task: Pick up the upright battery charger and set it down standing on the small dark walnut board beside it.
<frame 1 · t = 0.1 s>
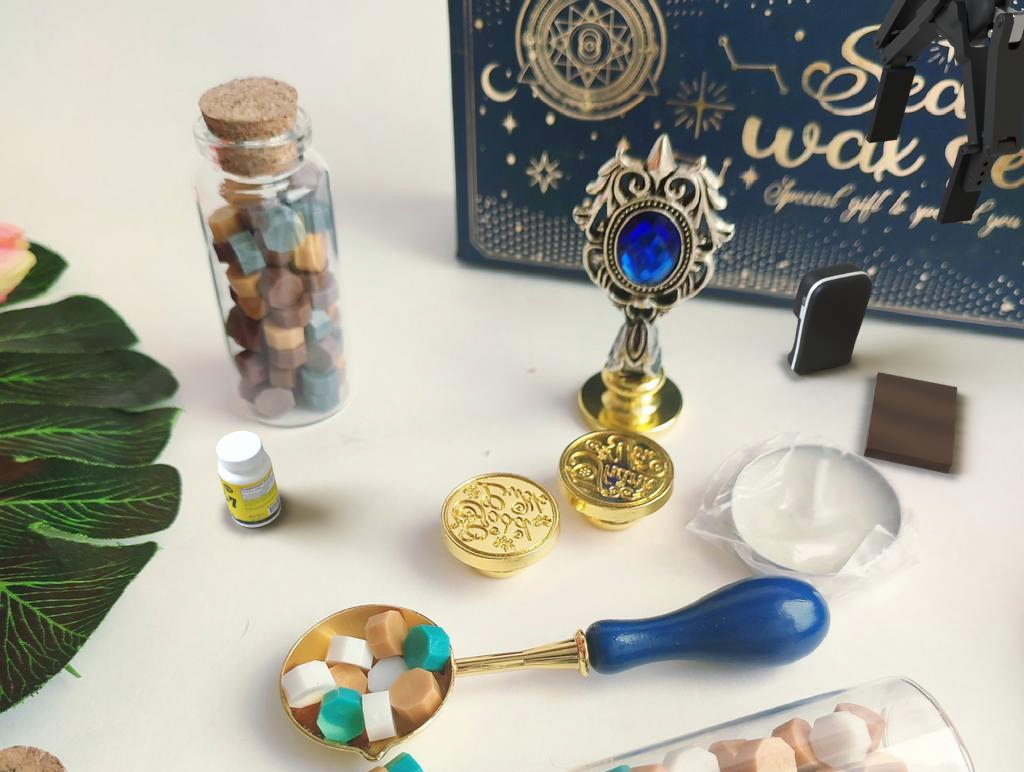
hand: (915, 178, 93), 25 cm above the table, tool pointing down, fingers open, 13 cm apart
supplement bottle: (256, 511, 101), on the table
walnut board: (910, 425, 108), on the table
battery charger: (814, 361, 116), on the table
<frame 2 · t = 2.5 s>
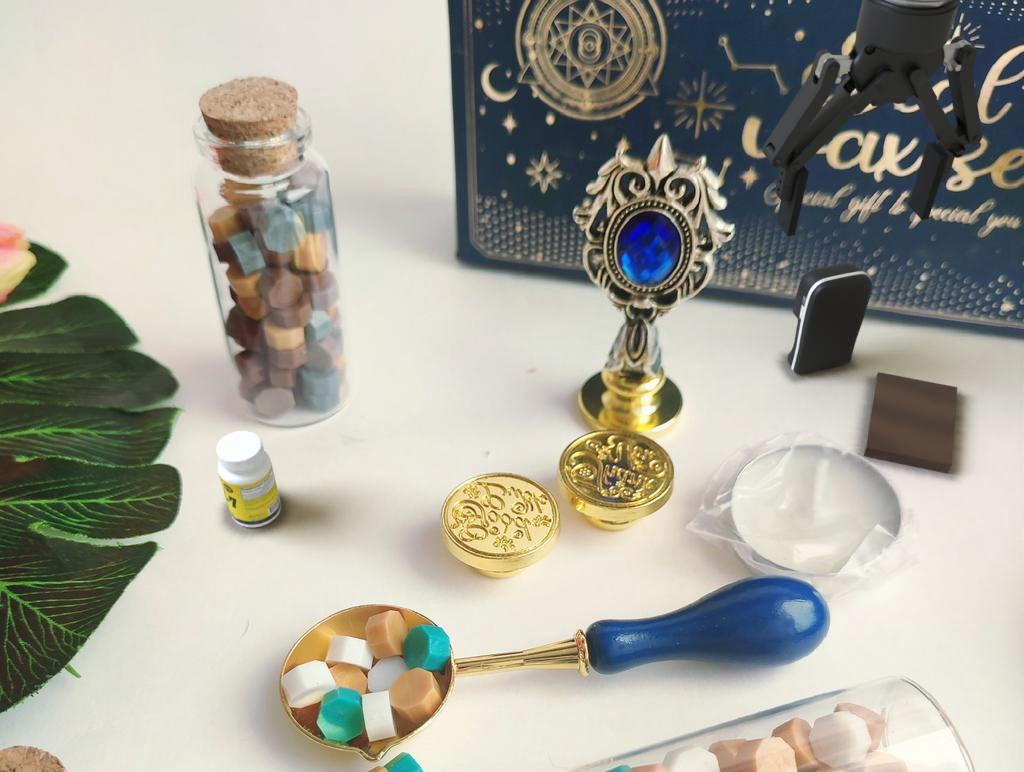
hand: (852, 220, 103), 17 cm above the table, tool pointing down, fingers open, 13 cm apart
nothing on the table moved.
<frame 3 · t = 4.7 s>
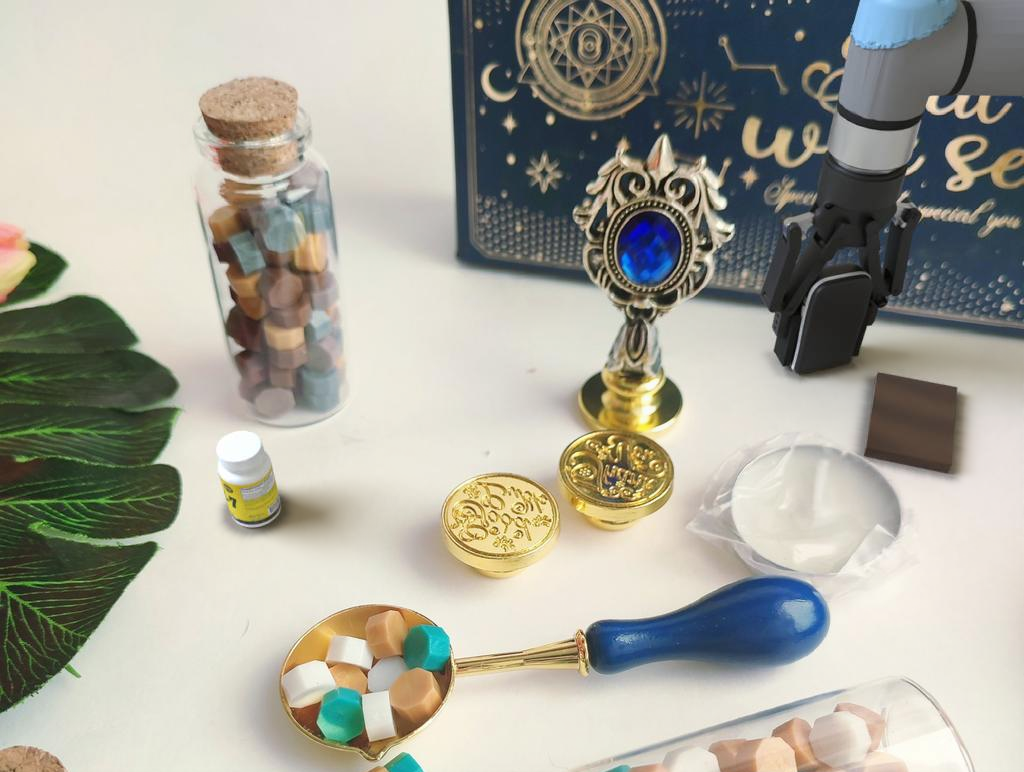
hand: (815, 353, 115), 1 cm above the table, tool pointing down, fingers closed on battery charger, 7 cm apart
battery charger: (814, 361, 116), on the table, touching gripper
everything else where it was.
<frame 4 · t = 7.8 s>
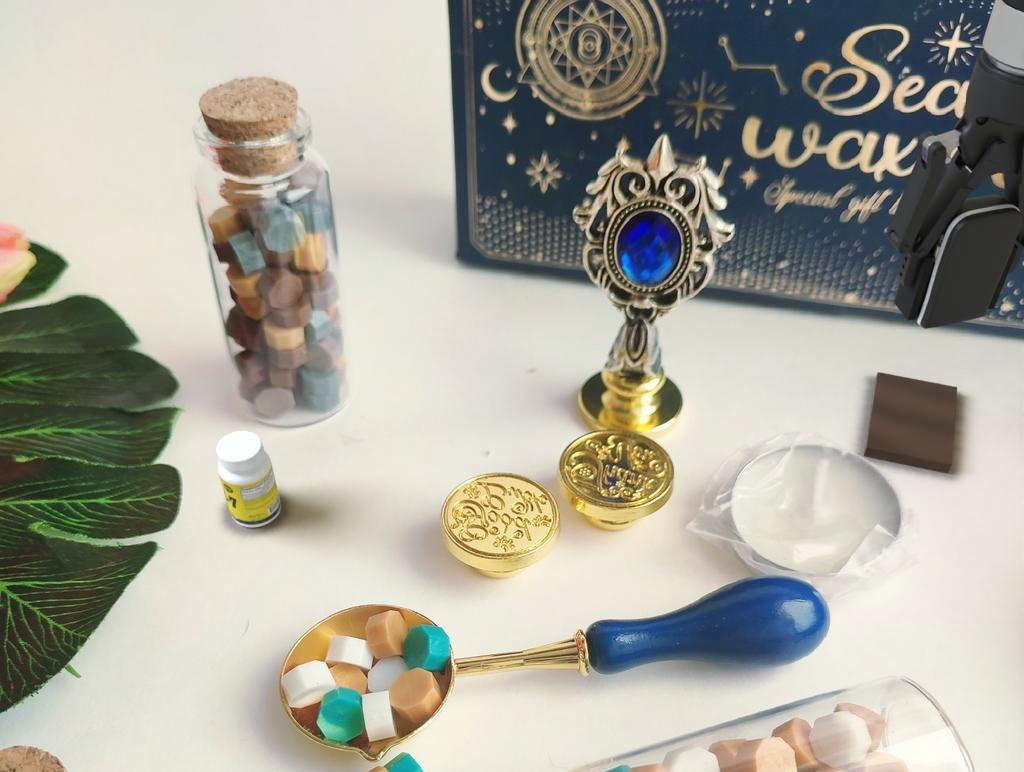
hand: (944, 305, 98), 14 cm above the table, tool pointing down, fingers closed on battery charger, 7 cm apart
battery charger: (942, 315, 99), point 13 cm above the table, touching gripper
everything else where it was.
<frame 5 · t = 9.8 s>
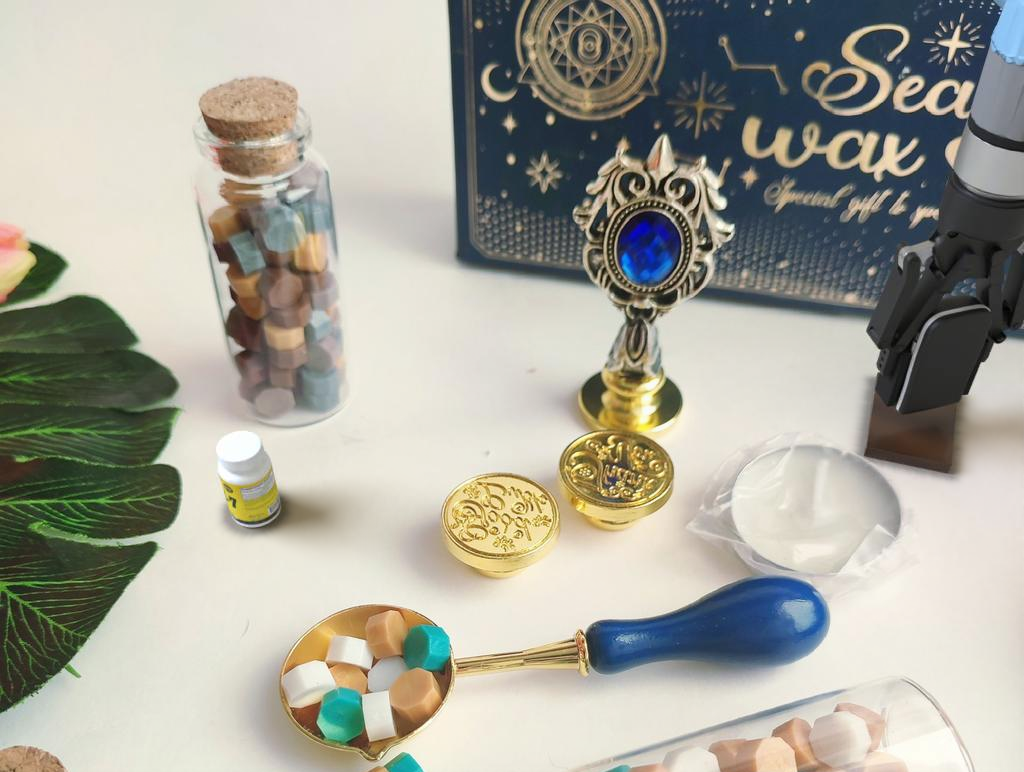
hand: (921, 391, 105), 4 cm above the table, tool pointing down, fingers closed on battery charger, 7 cm apart
battery charger: (919, 400, 105), point 4 cm above the table, touching gripper
everything else where it was.
when the fingers open (2 cm above the table, at t = 10.9 s): battery charger stays where it is, resting on walnut board.
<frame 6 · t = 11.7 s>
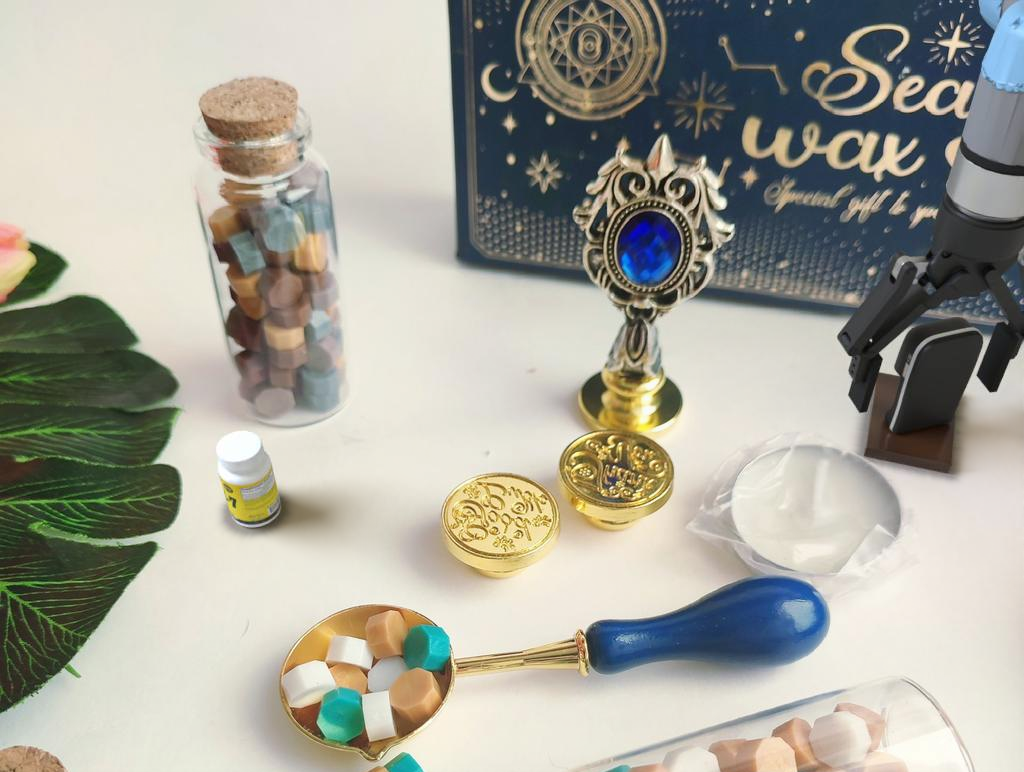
hand: (922, 393, 105), 4 cm above the table, tool pointing down, fingers open, 13 cm apart
battery charger: (913, 419, 107), point 1 cm above the table, touching walnut board
everything else where it was.
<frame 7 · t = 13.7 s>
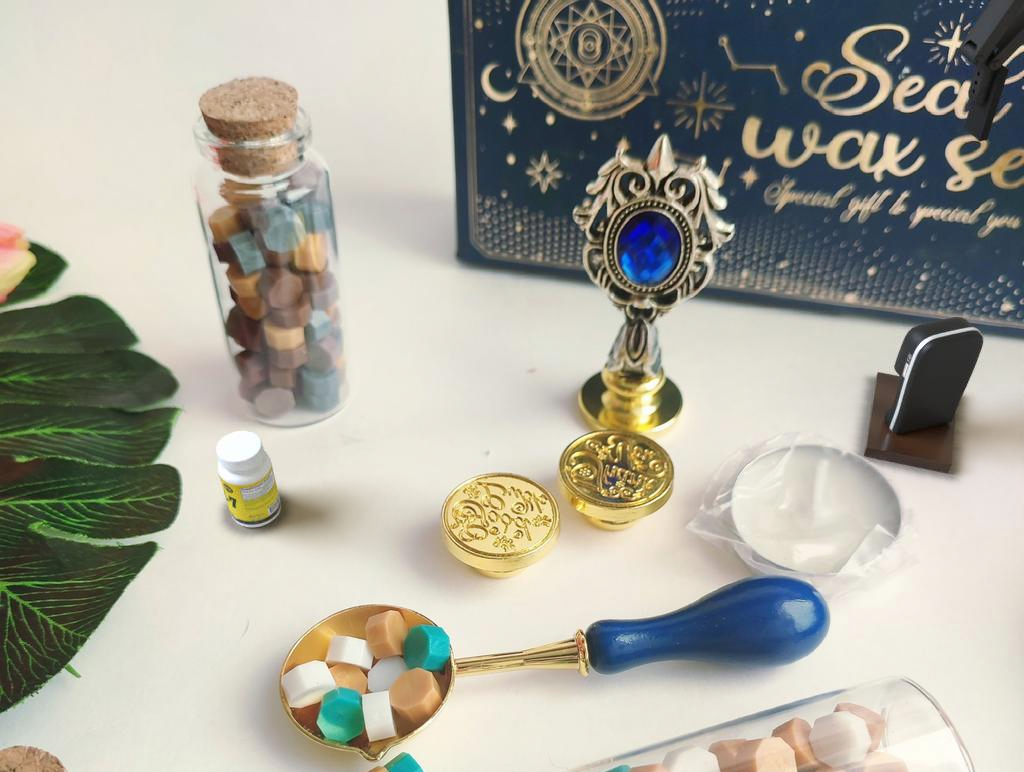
nothing on the table moved.
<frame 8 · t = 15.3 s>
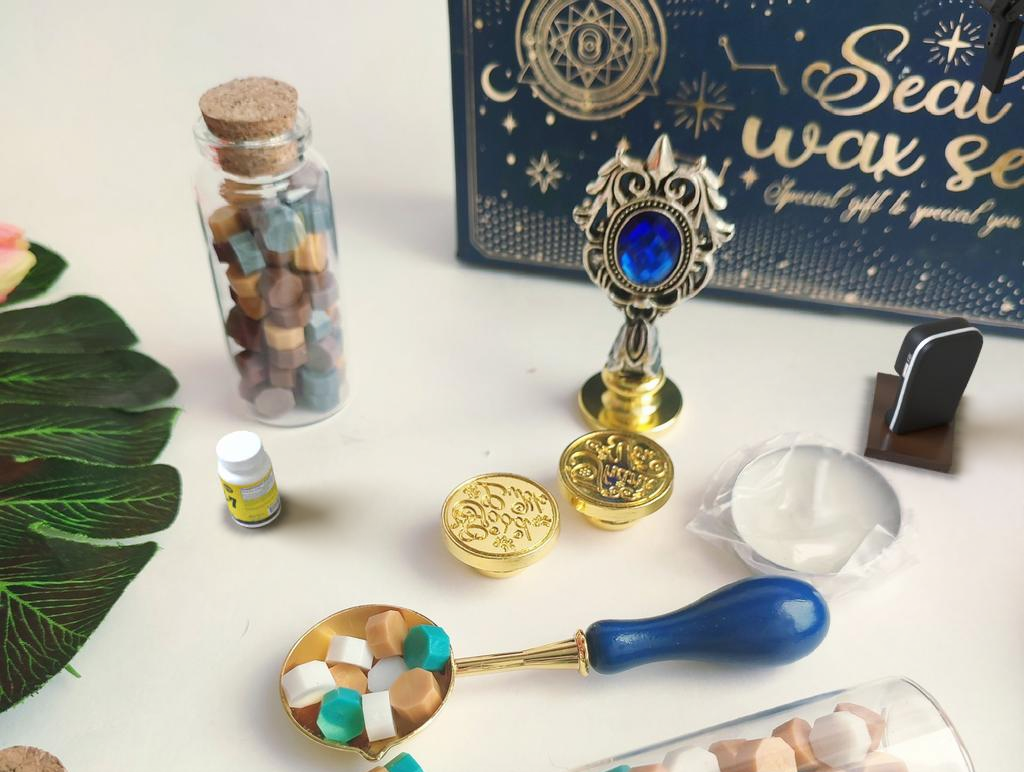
nothing on the table moved.
at the end: battery charger inside the target area on the walnut board (0.3 cm from its centre), point 1.0 cm above the walnut board's base; battery charger tilted 0°; the gripper is holding nothing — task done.
